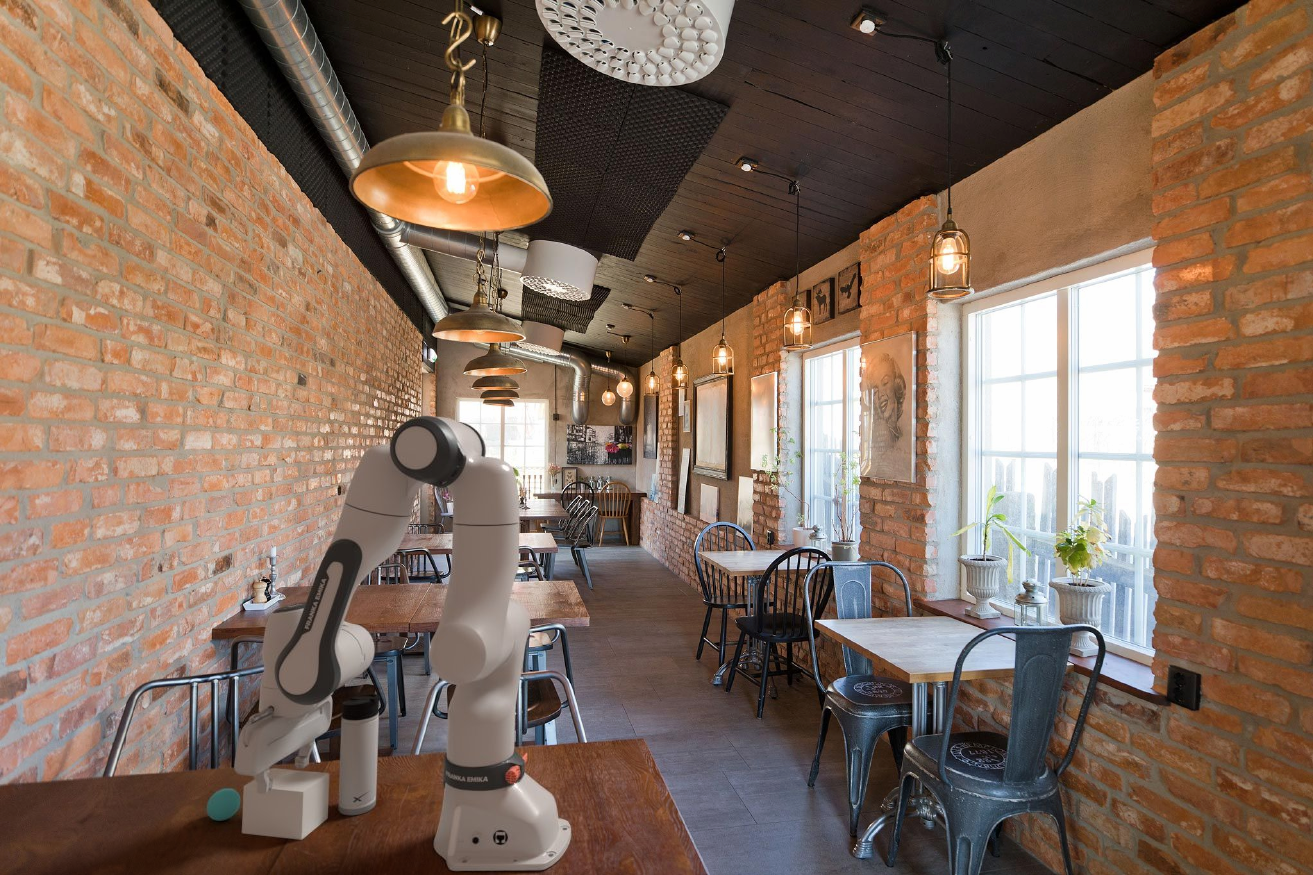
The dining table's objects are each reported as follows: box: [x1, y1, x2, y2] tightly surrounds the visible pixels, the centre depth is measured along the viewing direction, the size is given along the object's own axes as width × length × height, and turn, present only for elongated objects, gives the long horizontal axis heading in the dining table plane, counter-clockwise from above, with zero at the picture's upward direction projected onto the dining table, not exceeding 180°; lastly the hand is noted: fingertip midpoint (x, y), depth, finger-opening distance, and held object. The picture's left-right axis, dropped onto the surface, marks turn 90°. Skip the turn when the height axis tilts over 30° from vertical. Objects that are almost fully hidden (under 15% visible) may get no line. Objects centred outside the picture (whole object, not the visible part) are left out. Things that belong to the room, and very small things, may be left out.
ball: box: [206, 787, 241, 822], centre depth 121 cm, size 5×5×5 cm
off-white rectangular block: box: [241, 767, 330, 841], centre depth 119 cm, size 11×7×8 cm, turn 82°
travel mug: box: [338, 693, 381, 816], centre depth 126 cm, size 6×7×20 cm
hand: (283, 778), depth 119 cm, fingers open, 8 cm apart
